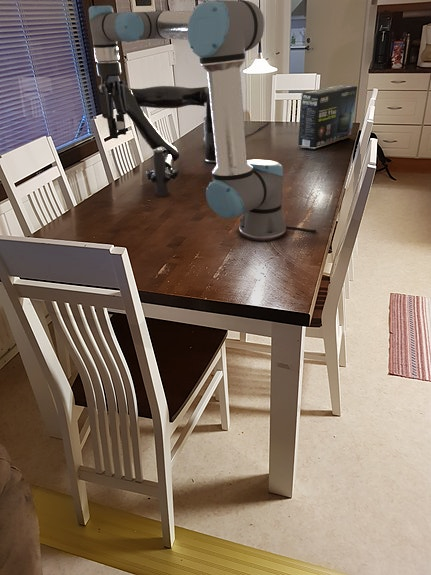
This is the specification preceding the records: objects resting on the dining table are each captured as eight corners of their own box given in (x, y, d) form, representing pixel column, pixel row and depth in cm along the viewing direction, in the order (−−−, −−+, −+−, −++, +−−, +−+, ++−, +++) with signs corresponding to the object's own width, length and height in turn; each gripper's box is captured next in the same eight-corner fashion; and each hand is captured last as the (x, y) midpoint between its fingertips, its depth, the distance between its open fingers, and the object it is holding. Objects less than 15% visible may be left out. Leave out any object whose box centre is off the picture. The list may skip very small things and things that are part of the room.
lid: (107, 128, 159) (106, 122, 158) (121, 126, 161) (120, 120, 160) (113, 130, 155) (112, 125, 154) (126, 128, 158) (126, 122, 157)
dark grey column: (166, 196, 182) (162, 152, 173) (155, 196, 183) (150, 152, 174) (169, 192, 186) (165, 149, 177) (158, 192, 187) (153, 149, 178)
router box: (314, 151, 231) (318, 94, 217) (296, 148, 237) (299, 92, 224) (352, 138, 251) (358, 85, 238) (335, 135, 258) (340, 83, 245)
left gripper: (146, 159, 191) (140, 171, 177) (180, 157, 191) (177, 169, 177) (148, 176, 195) (142, 190, 181) (181, 175, 195) (179, 188, 180)
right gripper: (102, 64, 139) (114, 143, 151) (131, 59, 153) (140, 130, 165) (82, 64, 141) (94, 141, 154) (112, 59, 156) (121, 130, 168)
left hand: (160, 180), depth 179 cm, fingers closed on dark grey column, 4 cm apart
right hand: (118, 136), depth 159 cm, fingers closed on lid, 5 cm apart
